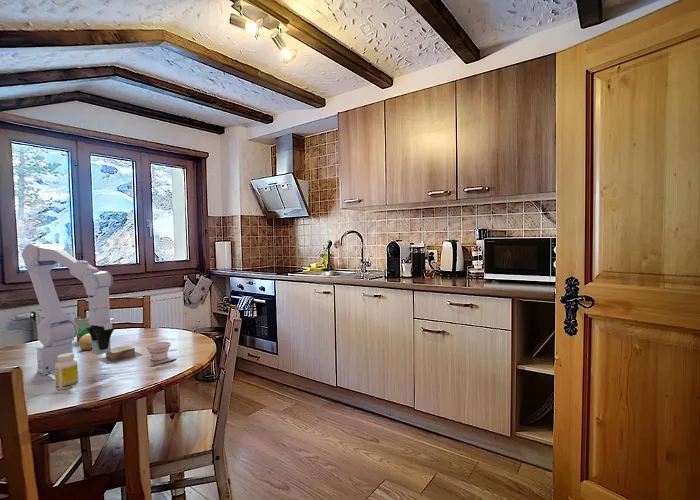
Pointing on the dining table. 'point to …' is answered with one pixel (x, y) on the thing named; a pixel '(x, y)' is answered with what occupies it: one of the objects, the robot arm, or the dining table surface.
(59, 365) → the supplement bottle
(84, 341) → the tan round lump
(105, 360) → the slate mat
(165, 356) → the teacup
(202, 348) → the dining table surface
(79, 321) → the food container
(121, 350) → the walnut slab
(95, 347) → the gray cube
